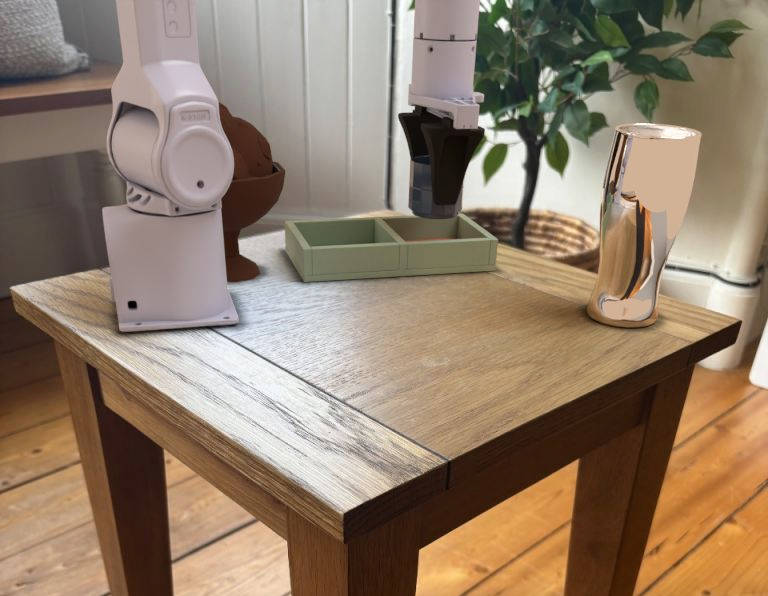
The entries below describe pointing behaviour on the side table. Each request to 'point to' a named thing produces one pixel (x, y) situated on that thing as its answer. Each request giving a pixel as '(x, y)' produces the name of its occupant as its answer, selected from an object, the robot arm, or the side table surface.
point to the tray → (388, 247)
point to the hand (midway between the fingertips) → (435, 196)
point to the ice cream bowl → (246, 190)
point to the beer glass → (641, 218)
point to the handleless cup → (428, 192)
